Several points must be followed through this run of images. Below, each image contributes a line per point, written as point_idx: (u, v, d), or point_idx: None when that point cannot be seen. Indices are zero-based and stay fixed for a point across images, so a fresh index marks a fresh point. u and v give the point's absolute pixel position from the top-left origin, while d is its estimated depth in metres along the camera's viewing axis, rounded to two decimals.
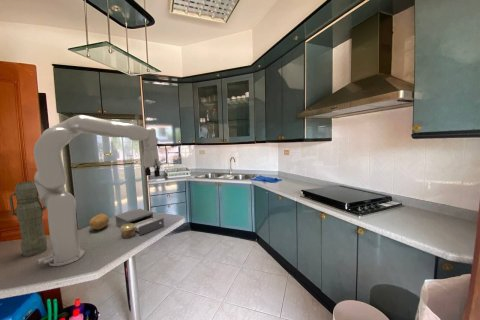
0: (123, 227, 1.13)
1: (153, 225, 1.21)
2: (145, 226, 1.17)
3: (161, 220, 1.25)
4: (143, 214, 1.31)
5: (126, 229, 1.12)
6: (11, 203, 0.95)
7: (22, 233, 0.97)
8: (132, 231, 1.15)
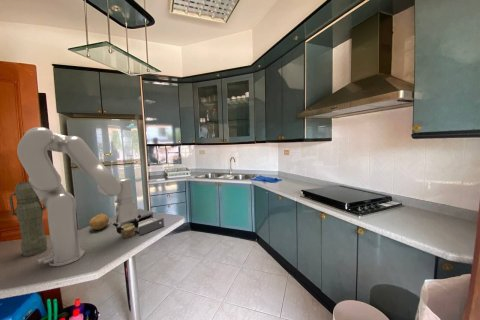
0: (123, 227, 1.13)
1: (153, 225, 1.21)
2: (145, 226, 1.17)
3: (161, 220, 1.25)
4: (143, 214, 1.31)
5: (126, 229, 1.12)
6: (11, 203, 0.95)
7: (22, 233, 0.97)
8: (132, 231, 1.15)
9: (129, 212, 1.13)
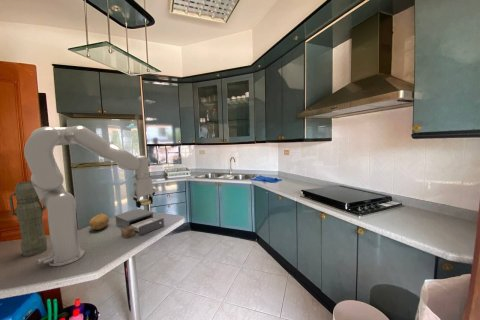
0: (141, 202, 1.21)
1: (153, 225, 1.21)
2: (145, 226, 1.17)
3: (161, 220, 1.25)
4: (143, 214, 1.31)
5: (144, 203, 1.20)
6: (11, 203, 0.95)
7: (22, 233, 0.97)
8: (132, 231, 1.15)
9: (146, 187, 1.21)
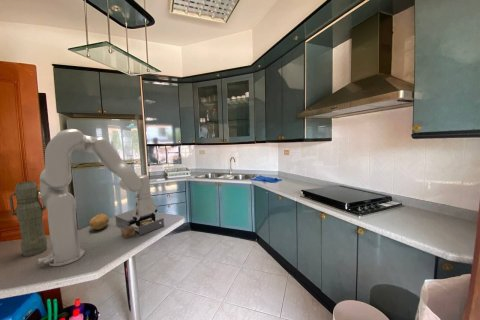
0: (142, 223, 1.22)
1: (153, 225, 1.21)
2: (145, 226, 1.17)
3: (161, 220, 1.25)
4: None
5: None
6: (11, 203, 0.95)
7: (22, 233, 0.97)
8: (132, 231, 1.15)
9: (147, 207, 1.22)
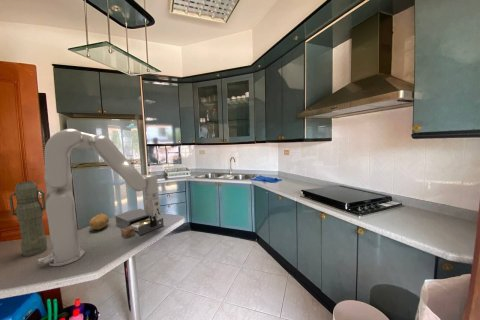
0: (142, 223, 1.22)
1: None
2: (145, 226, 1.17)
3: (161, 220, 1.25)
4: (143, 214, 1.31)
5: None
6: (11, 203, 0.95)
7: (22, 233, 0.97)
8: (132, 231, 1.15)
9: None
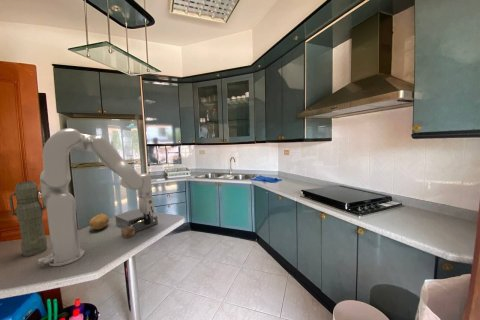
0: (137, 221, 1.26)
1: None
2: (139, 223, 1.21)
3: (155, 218, 1.29)
4: None
5: None
6: (11, 203, 0.95)
7: (22, 233, 0.97)
8: (132, 231, 1.15)
9: None
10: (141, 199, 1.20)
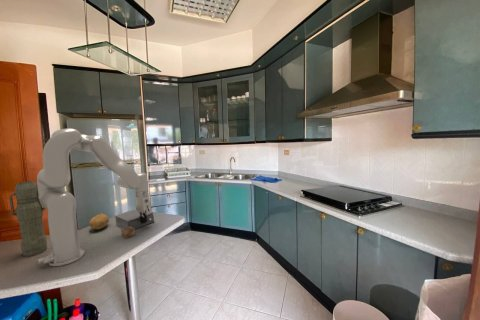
0: None
1: None
2: (135, 222, 1.23)
3: (151, 216, 1.32)
4: None
5: None
6: (11, 203, 0.95)
7: (22, 233, 0.97)
8: (132, 231, 1.15)
9: None
10: (137, 198, 1.22)
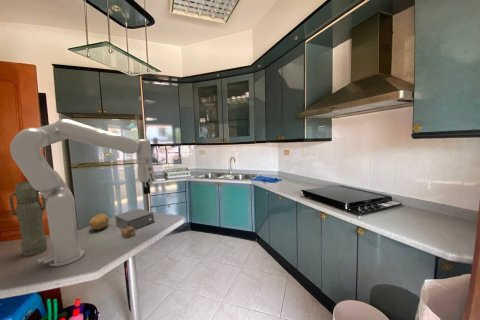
0: (134, 220, 1.28)
1: (143, 221, 1.27)
2: (135, 222, 1.23)
3: (151, 217, 1.32)
4: (143, 214, 1.31)
5: None
6: (11, 203, 0.95)
7: (22, 233, 0.97)
8: (132, 231, 1.15)
9: None
10: (140, 166, 1.13)
